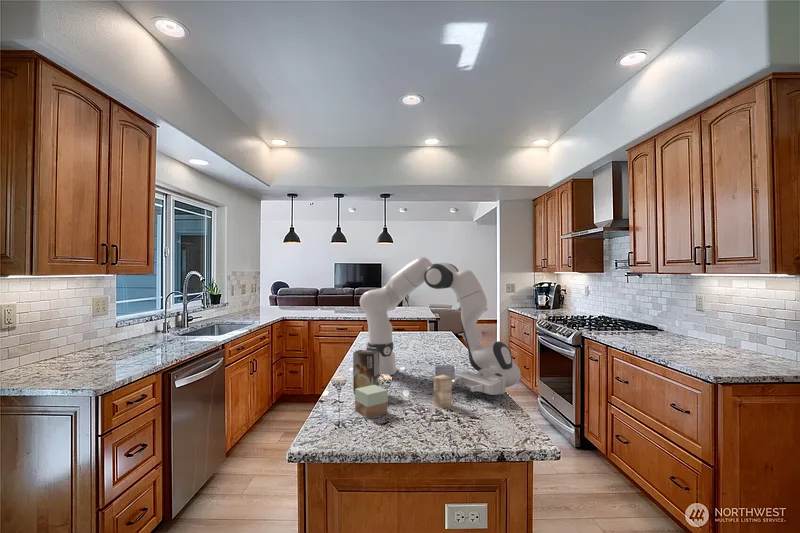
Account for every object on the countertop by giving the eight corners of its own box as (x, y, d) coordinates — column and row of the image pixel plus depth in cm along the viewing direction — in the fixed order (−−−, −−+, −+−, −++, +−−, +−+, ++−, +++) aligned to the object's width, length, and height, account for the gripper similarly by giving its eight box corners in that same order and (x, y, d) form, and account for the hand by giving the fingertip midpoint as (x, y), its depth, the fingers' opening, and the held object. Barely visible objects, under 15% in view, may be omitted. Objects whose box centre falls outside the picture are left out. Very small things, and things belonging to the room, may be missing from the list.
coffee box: (380, 391, 159) (380, 350, 159) (374, 396, 152) (374, 354, 152) (358, 389, 161) (358, 349, 161) (352, 394, 155) (352, 352, 155)
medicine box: (454, 385, 166) (454, 365, 166) (454, 389, 161) (454, 367, 161) (435, 385, 167) (435, 364, 167) (435, 388, 162) (435, 367, 162)
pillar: (433, 404, 143) (433, 376, 143) (443, 402, 145) (443, 374, 145) (441, 408, 139) (441, 379, 139) (451, 406, 142) (451, 377, 142)
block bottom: (355, 411, 137) (355, 400, 137) (375, 407, 142) (375, 395, 142) (366, 419, 130) (366, 406, 130) (387, 414, 135) (387, 402, 135)
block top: (355, 400, 137) (355, 388, 137) (374, 395, 142) (374, 384, 142) (367, 407, 130) (367, 394, 130) (387, 401, 135) (387, 390, 135)
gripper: (468, 366, 164) (443, 371, 156) (508, 377, 147) (481, 383, 139) (468, 381, 164) (443, 387, 156) (508, 394, 147) (481, 401, 139)
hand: (461, 385), depth 148 cm, fingers open, 8 cm apart
